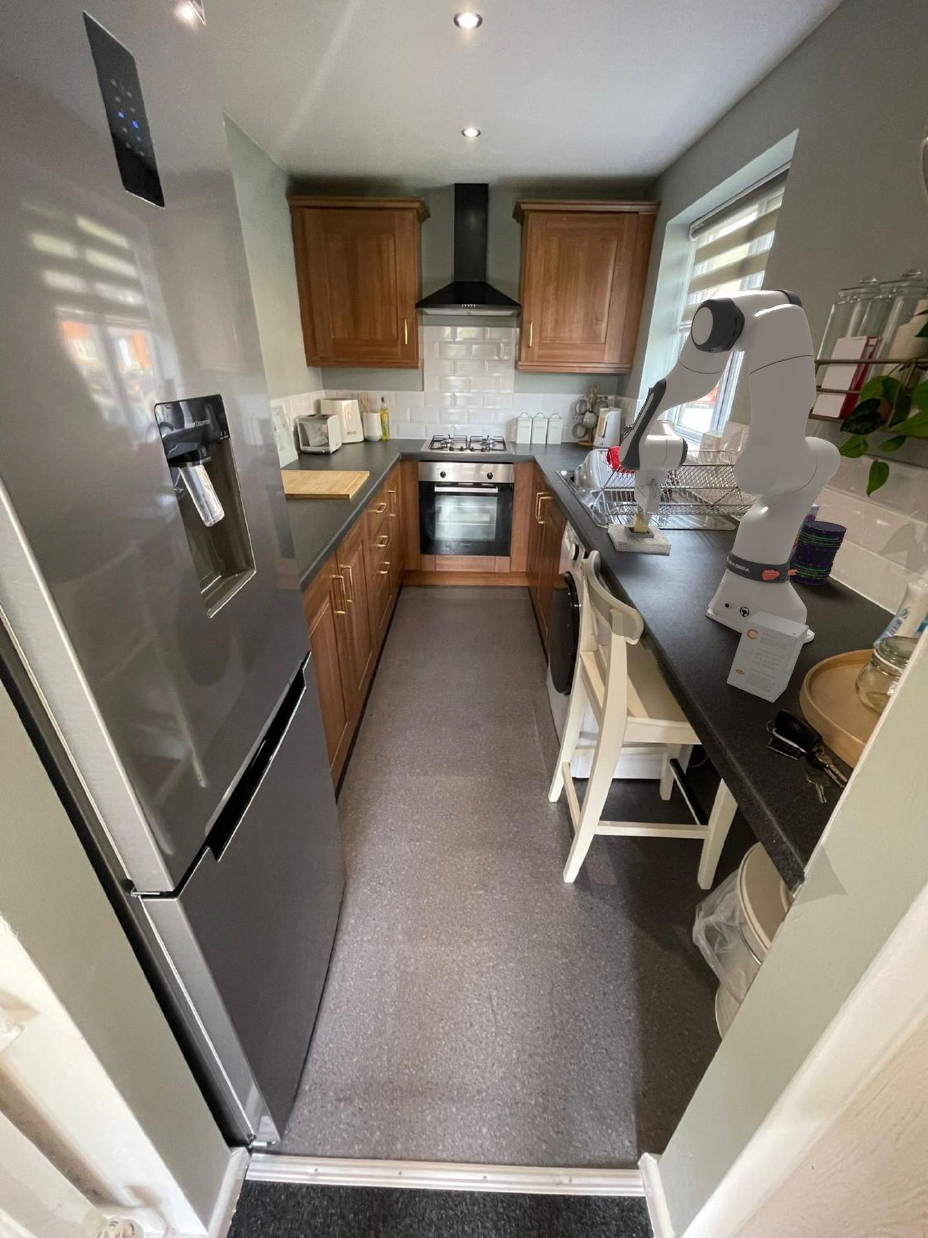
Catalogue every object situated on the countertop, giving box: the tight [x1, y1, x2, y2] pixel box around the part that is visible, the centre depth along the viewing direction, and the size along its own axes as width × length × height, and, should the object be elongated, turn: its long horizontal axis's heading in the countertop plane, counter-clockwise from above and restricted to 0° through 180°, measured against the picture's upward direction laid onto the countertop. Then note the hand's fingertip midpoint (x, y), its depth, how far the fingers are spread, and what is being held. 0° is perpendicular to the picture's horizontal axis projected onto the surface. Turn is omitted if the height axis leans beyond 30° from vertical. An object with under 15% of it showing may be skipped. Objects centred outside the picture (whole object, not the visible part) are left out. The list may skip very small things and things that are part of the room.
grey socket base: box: [607, 523, 673, 555], centre depth 161 cm, size 20×16×4 cm
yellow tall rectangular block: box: [631, 513, 650, 534], centre depth 160 cm, size 4×4×9 cm
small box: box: [726, 611, 810, 704], centre depth 86 cm, size 8×6×13 cm
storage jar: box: [789, 520, 848, 586], centre depth 134 cm, size 10×10×15 cm
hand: (642, 520), depth 158 cm, fingers open, 8 cm apart
